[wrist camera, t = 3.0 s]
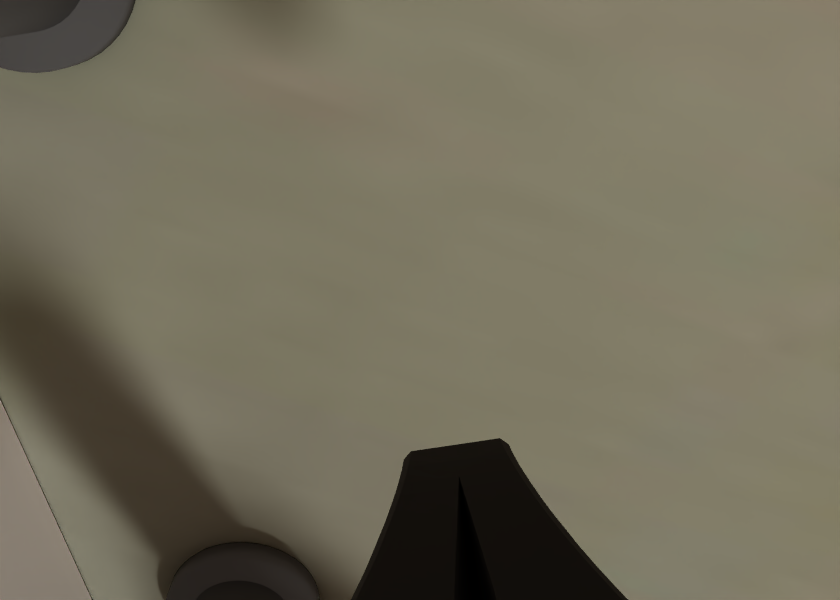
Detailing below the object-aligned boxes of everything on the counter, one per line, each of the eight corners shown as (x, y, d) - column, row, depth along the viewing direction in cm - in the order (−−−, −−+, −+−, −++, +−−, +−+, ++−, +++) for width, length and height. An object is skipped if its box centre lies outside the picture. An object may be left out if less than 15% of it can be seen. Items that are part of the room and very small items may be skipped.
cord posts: (193, 661, 21) (63, 1117, 12) (-132, -156, 12) (-1151, -404, 4) (332, 641, 21) (293, 1087, 12) (96, -197, 12) (-491, -529, 4)
